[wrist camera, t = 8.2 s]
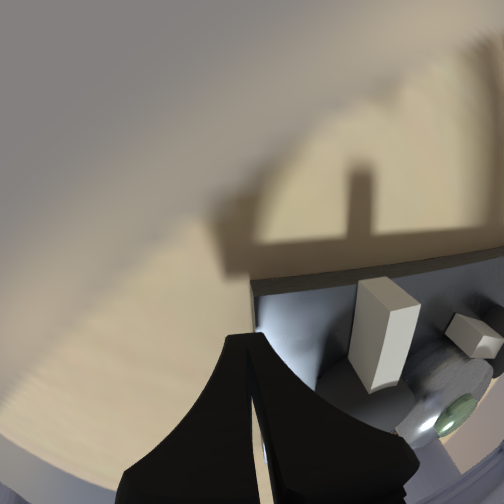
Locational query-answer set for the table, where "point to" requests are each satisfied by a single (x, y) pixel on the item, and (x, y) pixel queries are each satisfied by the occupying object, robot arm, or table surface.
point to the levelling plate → (423, 342)
